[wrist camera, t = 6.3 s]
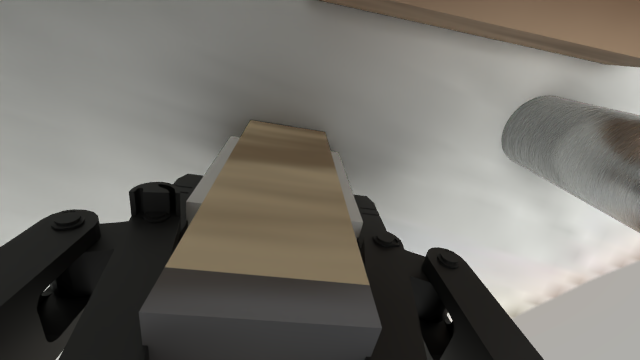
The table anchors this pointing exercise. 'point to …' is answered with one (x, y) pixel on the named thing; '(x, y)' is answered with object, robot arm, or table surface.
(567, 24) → the bore block
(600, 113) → the round bit
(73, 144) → the table surface
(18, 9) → the table surface
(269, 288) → the square bit
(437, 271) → the robot arm
